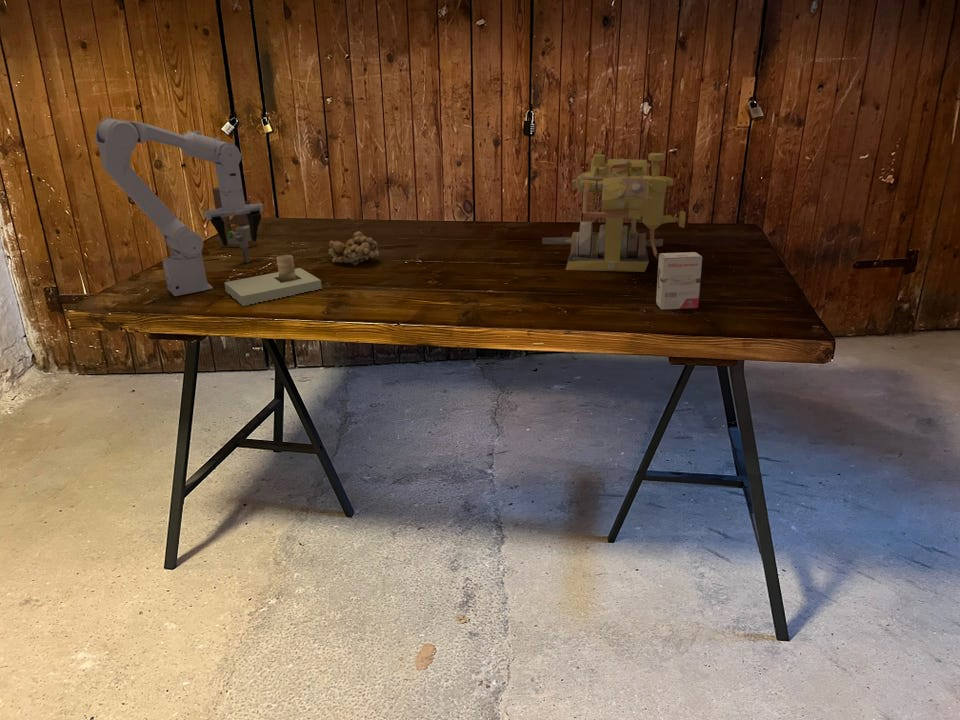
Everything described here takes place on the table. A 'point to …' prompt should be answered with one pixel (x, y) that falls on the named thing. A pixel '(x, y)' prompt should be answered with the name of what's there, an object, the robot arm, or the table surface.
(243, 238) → the mechanical component
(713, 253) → the table surface
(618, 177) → the mechanical engine
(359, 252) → the mineral formation
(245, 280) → the socket board
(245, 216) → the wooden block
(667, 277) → the ink box
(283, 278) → the birch peg
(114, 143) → the robot arm
